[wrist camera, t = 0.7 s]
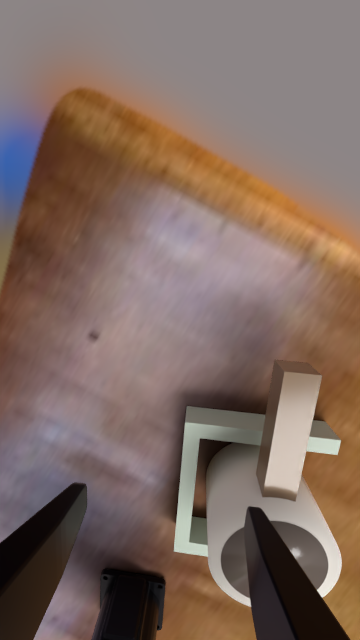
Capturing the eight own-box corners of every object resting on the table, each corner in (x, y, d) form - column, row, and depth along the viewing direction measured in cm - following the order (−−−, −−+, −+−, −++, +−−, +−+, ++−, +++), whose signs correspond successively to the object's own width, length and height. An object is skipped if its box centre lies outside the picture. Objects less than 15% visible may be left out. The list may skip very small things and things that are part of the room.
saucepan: (291, 520, 22) (327, 622, 15) (201, 508, 22) (202, 602, 16) (327, 348, 18) (393, 389, 12) (220, 338, 19) (231, 372, 12)
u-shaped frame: (298, 542, 22) (309, 571, 20) (176, 524, 23) (173, 551, 20) (325, 421, 19) (340, 440, 17) (186, 405, 20) (185, 422, 18)
